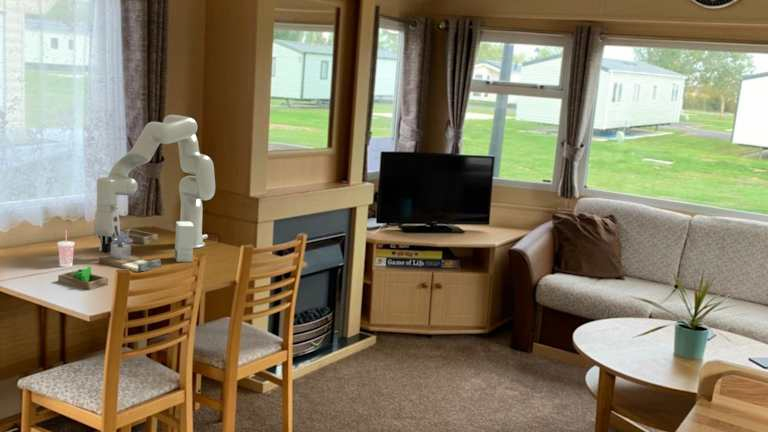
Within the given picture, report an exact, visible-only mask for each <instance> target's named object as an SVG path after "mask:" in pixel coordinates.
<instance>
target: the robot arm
mask: <svg viewBox="0 0 768 432" xmlns="http://www.w3.org/2000/svg"><path fill="white" fill-rule="evenodd" d="M197 131H198V123H197V121H196V120H195V119H194V118H192V117H189V116H184V115H180V114H179V115H178V114H169V115H166V116H165V117H164V118H163V121H162V122H160V121H150V122H148V123H147V124H146V125H145V126H144V128H143V130H142V131H141V133H140V135H139V136H138V138H137V139H136V142H135V143H134V145H133V147H132V148H131V150H130V151H128V153H126V154H124V155H123V156H122V157H121V158H120V159H118V160H117V162H115V163H114V165H113V167H112V168H111V169H110V172H109V173H108V175H107V176H101V177H99V178H97V180H96V211H95V214H94V222H93V223H94V224H93V231H94V234H95V237H97V238H99V240H100V244H101V243H102V251H101V253H103V254H107V253H111V252H110V251H111V243H112V241H113V240H117V236H118V235H120V231H121V226H120V225H121V224H120V215H119V212H118V207H117V198H118V196H132V195H134V194H135V193H136V192H137V190H138V186H139V185H138V182H137V180H135V179H134V178H132V177H130V176H128V174H129V173H131V171H132V170H133V169H135V168H136V167H138V166H141V165H144V164H147V163H149V162H150V161H151V160H152V158H153V156H154V155H155V153H156V151H157V149H158V148H159V146H160V144H164V145H170V144H173V143H177V145H178V155H179V164H180V165H179V166H180V168H181V170H182V172H184V173H187V174H190V175H186V176H184V177H182V178H181V179H180V180H179V184H178V190H179V198H180V199H179V200H180V215H179V216H180V218H179V221H191V223H193V225H194V238H193V249H200V248H203V247H205V245H206V243H205V242H204V241H203V240H204V239H208V238H209V237H208V234H205V233H204V234H203V233H202V232H203V210H204V208H203V201H209V200H212V198H213V197H214V196H215V193H216V177H215V176H216V175H215V166H214V162H213V160H212V158H211V157H209V156H208V155H206V154H203V153H201V152H200V147H199V140H198V137H197V135H196V133H197Z"/></svg>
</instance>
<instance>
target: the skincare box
mask: <svg viewBox="0 0 768 432" xmlns="http://www.w3.org/2000/svg"><path fill="white" fill-rule="evenodd" d="M193 238H194V225H193V223H191V221H180V220H179V221H175V238H174V239H175V240H174V241H175V243H174V256H173V257H174V259H175V260H176V262H177V263H182V262H183V263H185V262H186V263H187V262H190V263H191V261H192V262H193V256H194V255H193V251H194V248H193Z"/></svg>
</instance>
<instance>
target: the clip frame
mask: <svg viewBox="0 0 768 432" xmlns="http://www.w3.org/2000/svg"><path fill="white" fill-rule="evenodd" d="M121 231H122V232H123V233H124V234H129V238H131V239H133V242H134V243H138V244H142V245H146V244H150V243H151V244H152V243H154V242H158V240H159V237H158V236H159V234H156V233H154V232H153V233H151V232H147V231H142V230H138V229H133V228H127V229H123V230H121ZM133 242H132V243H133Z"/></svg>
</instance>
